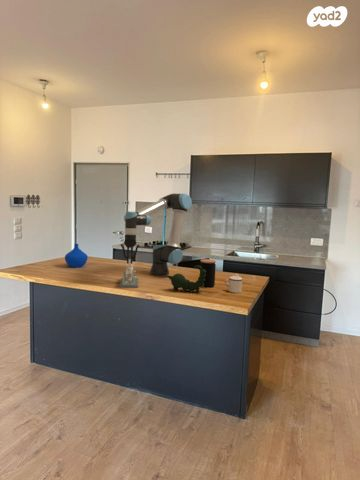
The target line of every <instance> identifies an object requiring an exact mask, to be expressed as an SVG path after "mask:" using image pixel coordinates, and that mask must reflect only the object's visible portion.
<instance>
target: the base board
mask: <svg viewBox="0 0 360 480" xmlns="http://www.w3.org/2000/svg"><path fill="white" fill-rule="evenodd" d="M122 279H123V277H120V283H119V288H120V289H129V288H130V289H138V288H139V278H138V277H136V281H135V285H122ZM125 281H126V279H125ZM132 281H133V279H132Z"/></svg>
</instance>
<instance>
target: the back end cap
mask: <svg viewBox="0 0 360 480" xmlns="http://www.w3.org/2000/svg"><path fill="white" fill-rule="evenodd" d="M126 270H127V269H126ZM126 270H123V276H125V279H126ZM136 274H137V270H133V276H136V277H137V275H136ZM133 276H132V279H133Z"/></svg>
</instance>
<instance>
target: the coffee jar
mask: <svg viewBox="0 0 360 480" xmlns="http://www.w3.org/2000/svg"><path fill="white" fill-rule="evenodd" d="M216 262H217V261H216V260H215V259H209V258H207V259H206V258H205V259H204V258H202V259H200V266H201V267H202V269H205V270H206V273H205V274H206V276H205V278H204V279H205V282H203V283H204V287H203V288H207V287H210V288H214V286H215V285H216V269H217V268H216V266H217V265H216ZM200 273H201V270H199V274H200Z"/></svg>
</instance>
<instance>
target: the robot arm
mask: <svg viewBox="0 0 360 480" xmlns="http://www.w3.org/2000/svg"><path fill="white" fill-rule="evenodd" d="M192 204H193V201H192V198H191V196H190V195H189V194H187V193H170V194H167V195H165V196H163V197H160V198H159V199H158V200H157V201H155V202H153V203H151V204H148V205H147V206H145V207H142V208H140V209H138V210H136V211H126V212H125V215H124V216H123V221H124V222H125V223H124V242H123V243H121V244H120V247H121V249H122V253H123V258H124V259H126V264H127V265H128V266H127V267H128V269H131V267H132V265H131V264H133V260H134V259H136V256H137V253H138V249H139V248H140V244H139V243H137V235H136V234H137V226H149V225H151V223H152V217H151V216H153V215H154V214H157V213H159V212H161V211H166V210H168V209H171V210H172V212H173V214H172V221H171V226H170V232H169V238H168V242H167V244H158V245H157V244H156V245H153V247H152V264H151V267H150V270H149V274H150V275H154V276H169V274H170V270H169V266H168V264H173V265H176V264H179V263H180V262H181V261H182V259H183V256H184V255H183V251H182V246H181V245H180V244H181V238H182V232H183V226H184V220H185V215H186V214H187V213H188V210H189V209H191V207H192ZM125 248H126V249H125ZM134 248H135V250H134ZM133 252H134V253H133Z"/></svg>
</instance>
